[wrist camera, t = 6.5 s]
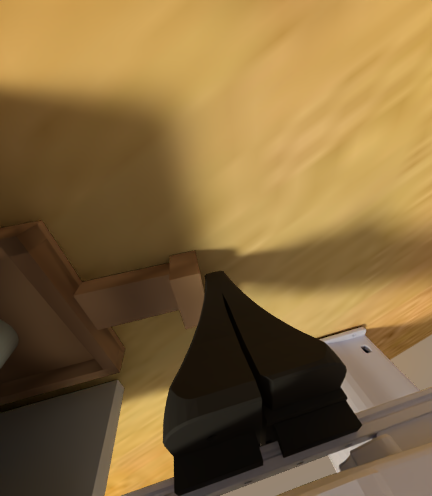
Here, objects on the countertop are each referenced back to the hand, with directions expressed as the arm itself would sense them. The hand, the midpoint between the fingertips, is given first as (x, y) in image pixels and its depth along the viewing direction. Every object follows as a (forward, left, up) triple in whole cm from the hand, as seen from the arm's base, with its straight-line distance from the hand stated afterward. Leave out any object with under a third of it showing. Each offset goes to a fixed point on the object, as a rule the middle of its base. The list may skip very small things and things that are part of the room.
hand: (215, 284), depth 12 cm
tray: (+9, 0, -1) cm, 9 cm away
